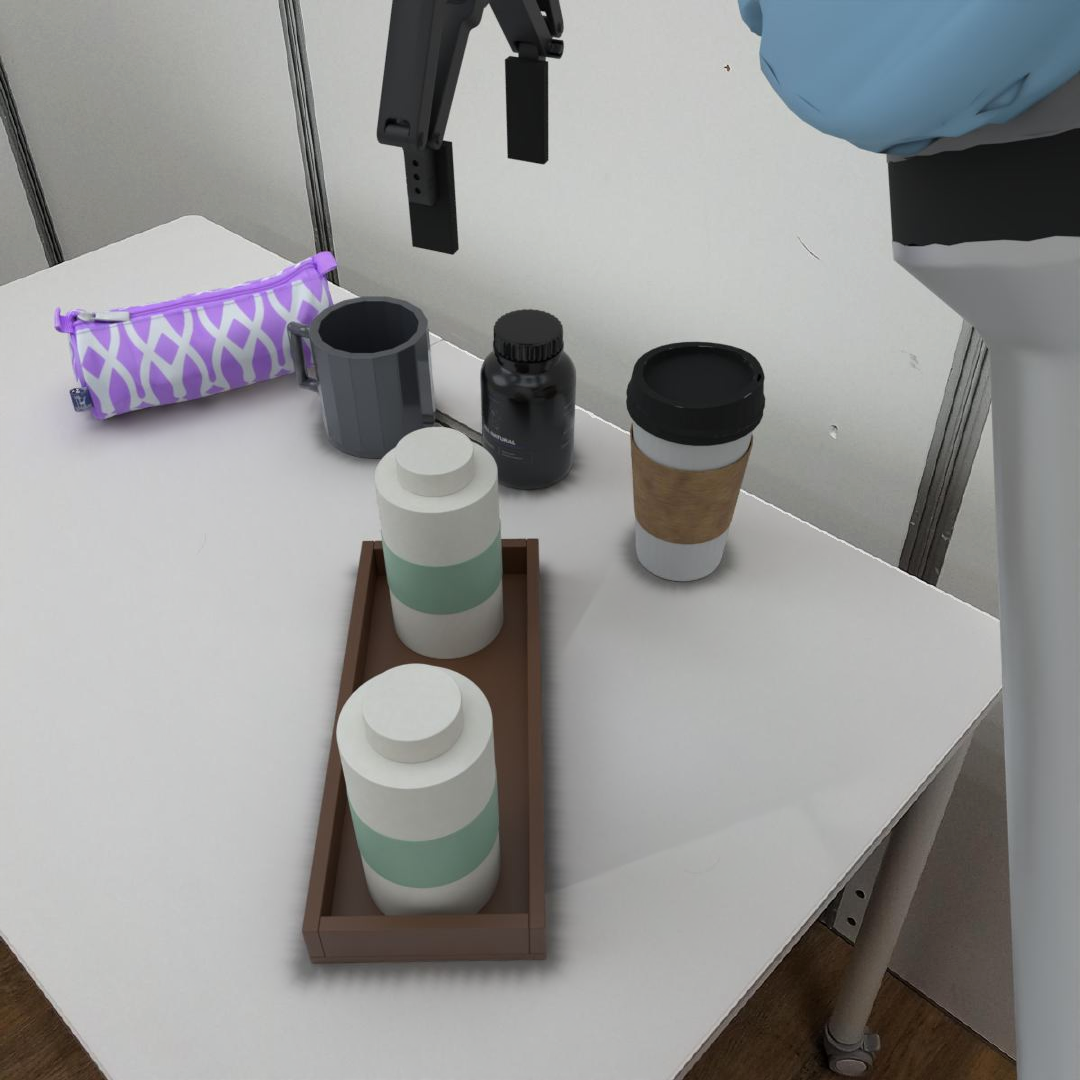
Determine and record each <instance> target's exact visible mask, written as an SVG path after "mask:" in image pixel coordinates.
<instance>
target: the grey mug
mask: <svg viewBox="0 0 1080 1080" xmlns="http://www.w3.org/2000/svg"><path fill="white" fill-rule="evenodd" d="M429 327H430V326H429V320H428V318H427V316H426V315H425V313H424V311H423V310H422V308H420V307H418V306H417V305H415V304H413V303H411V302H410V301H408V300H405V299H401V298H396V297H391V296H385V295H382V296H381V295H380V296H376V295H375V296H372V295H371V296H369V295H368V296H367V295H365V296H364V295H363V296H357V297H353V298H349V299H343V300H341V301H339V302H337V303H335V304H334V303H333V305H332V306H330V307H328V308H326V309H324V310H323V311H322V312H321V313H319V314H318V315H317V316H316V317H315V318H314V319H313V320H312V323H311V325H307V324H303V323H298V322H294V321H293V322H290V323H288V325H287V333H288V338H289V344H290V349H291V354H292V360H293V365H294V371H295V372H294V377H295V381H296V385H297V387H298V388H299V389H302V390H306V391H310V392H314V393H318V397H319V402H320V408H321V414H322V421H323V425H324V428H325V432H326V436H327V438H328V440H329V442H330V443H331V444H332V445H333V446H334V447H335V448H336V449H338V450H339V451H341V452H343V453H345V454H347V455H350V456H353V457H358V458H364V459H382V458H383V457H384V456H385V455H386V454H387V453H388V452H389V451H391V450H392V449H394V448H395V447H396V446H397V444H398V443H399V441H400V440H401V439H402V438H403V437H405V436H406V435H408V434H409V433H411V432H413V431H416V430H419V429H423V428H428V427H436V423H437V421H436V420H437V419H436V415H437V410H436V399H435V398H436V397H435V388H434V387H435V386H434V375H433V362H432V351H431V339H430V329H429ZM302 337H304V338H308V339H310V344H311V350H312V356H313V362H314V373H315V378H313V377H310V376H309V371H308V370H309V369H308V368H307V364H306V359H305V353H304V347H303V341H302Z"/></svg>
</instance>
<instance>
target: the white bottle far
mask: <svg viewBox="0 0 1080 1080" xmlns="http://www.w3.org/2000/svg"><path fill="white" fill-rule="evenodd" d="M373 478H374V479H373V480H374V486H375V495H376V503H377V509H378V517H379V522H380V536H381V541H382V544H383V552H384V559H385V566H386V573H387V581H388V585H389V589H390V596H391V604H392V611H393V618H394V625H395V630H396V633H397V635H398V637H399V638H400V640H401V641H402V642H403V643H404V644H405V645H406V646H407V647H408V648H410V649H411V650H412V651H414V652H416V653H418V654H421V655H423V656H427V657H430V658H437V659H454V658H460V657H464V656H468V655H471V654H474V653H476V652H478V651H480V650H481V649H483V648H485V647H486V646H487V645H489V644H490V643H491V642H492V641H493V640H494V639H495V638H496V636H497V635H498V634H499V632H500V630H501V627H502V624H503V619H504V615H503V590H502V573H503V571H502V547H501V539H502V527H501V526H502V525H501V518H500V500H499V499H500V497H499V496H500V495H499V481H498V470H497V465H496V462H495V460H494V458H493V457H492V455H491V454H490V453H489V452H488V451H487V450H486V449H485V448H483V445H480V444H478V443H477V442H474V441H472V440H471V438H469V437H468V436H467V435H466V434H465V433H464V432H461V431H459V430H457V429H454V428H451V427H445V426H435V427H428V428H423V429H419V430H416V431H413V432H411V433H409V434H408V435H406V436H405V437H403V438H402V439H401V440H400V441H399V443H398V444H397V446H396V447H395V448H394V449H392V450H391V451H389V452H388V453H387V454H386V455H385V456H384V457H383V458H380V460H379V462H378V463H377V465H376V468H375V471H374V477H373Z"/></svg>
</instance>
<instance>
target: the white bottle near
mask: <svg viewBox="0 0 1080 1080" xmlns="http://www.w3.org/2000/svg"><path fill="white" fill-rule="evenodd" d="M336 734H337V743H338V748H339V753H340V757H341V762H342V767H343V772H344V777H345V781H346V787H347V796H348V801H349V806H350V811H351V815H352V820H353V825H354V830H355V834H356V839H357V843H358V847H359V850H360V853H361V858H362V863H363V867H364V872H365V877H366V882H367V886H368V890H369V893H370V895H371V898H372V900H373V901H374V903H375V905H376V906H377V907H378V908H379V909H380V911H381V912H382V913H384V914H385V915H448V914H476V913H477V912H479V911H480V910H481V909H482V908H483V907H484V906H485V905H486V903H487V902H488V901H489V899H490V898H491V896H492V895H493V893H494V891H495V889H496V887H497V884H498V881H499V877H500V870H501V863H500V844H499V808H498V790H497V772H496V765H495V755H494V737H493V719H492V712H491V708H490V705H489V703H488V700H487V699H486V697H485V695H484V694H483V692H482V691H481V690H480V689H479V688H478V687H477V686H476V685H475V684H474V683H473V682H472V681H471V680H469V679H468V678H466V677H465V676H463V675H461V674H459V673H457V672H454V671H452V670H449V669H446V668H442V667H437V666H431V665H426V664H406V665H401V666H397V667H394V668H391V669H389V670H387V671H385V672H384V673H382V674H380V675H377V676H375V677H374V678H372V679H370V680H369V681H367V682H366V683H364V684H363V685H362V686H360V687H359V688H358V689H357V690H356V691H355V692H354V693H353V694H352V695H351V697H350V698H349V699H348V700H347V702H346V703H345V705H344V707H343V709H342V711H341V713H340V715H339V719H338V723H337V731H336Z"/></svg>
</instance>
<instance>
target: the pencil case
mask: <svg viewBox="0 0 1080 1080" xmlns="http://www.w3.org/2000/svg"><path fill="white" fill-rule="evenodd" d="M338 267H339V265H338V262H337V260H336V259H335V257H334V255H333V254H332V252H331V251H328V250H327V251H326V250H325V251H321V252H317V253H316V254H314V255H311V256H308V257H307V258H305V259H304V260H301V261H299V262H297V263H294V264H291V265H289V266H287V267H285V268H283V269H281V270H280V271H277V272H276V273H274V274H272V275H269V276H264V277H261V278H258V279H254V280H248V281H244V282H240V283H237V284H234V285H232V286H229V287H222V288H216V289H209V290H201V291H198V292H193V293H192V292H191V293H189V294H185V295H182V296H179V297H176V298H174V299H171V300H167V301H155V302H150V303H145V304H141V305H135V306H125V307H119V308H113V309H109V310H108V309H107V310H104V311H97V312H94V311H89V310H85V309H81V308H71V309H70V310H69V311H67V312H66V313H65V315H61V307H59V306H58V307H56V308H55V310H54V317H53V319H54V321H53V322H54V329H55V331H56V332H58V333H60V334H61V333H62V334H67V340H68V347H69V352H70V360H71V361H70V362H71V366H72V370H73V374H74V377H75V381H76V383H77V386H78V387H74V388H72V389H70V390H69V395H70V399H71V403H72V406H73V409H74V411H75V412H76V413H82V412H87V411H90V413H91V414H92V416H93V417H94V418H95V420H101V421H103V420H106V419H109V418H112V417H114V416H117V415H122V414H126V413H129V412H134V411H138V410H143V409H146V408H150V407H156V406H164V405H170V404H176V403H181V402H188V401H193V400H197V399H198V400H199V399H200V398H206V397H208V396H209V397H210V396H212V395H216V394H220V393H224V392H228V391H231V390H235V389H238V388H242V387H246V386H249V385H253V384H256V383H261V382H264V381H268V380H269V381H270V380H272V379H275V378H279V377H281V376H284V375H289V374H290V375H291V374H292V373H295V371H294V365H293V360H292V354H291V349H290V344H289V338H288V333H287V325H288V323H290V322H293V321H294V322H298V323H303V324H307V325H311V323H312V320H313V319H314V318H315V317H316V316H317V315H318V314H319V313H321V312H322V311H323V310H324V309H326V308H328V307H330V306H332V305H334V302H333V297H332V295H331V291H330V286H329V282H328V277H327V273H328V272H331V271H334V270H335V269H337V268H338ZM302 341H303V347H304V353H305V359H306V364H307V369H309V368H313V367H314V362H313V356H312V350H311V344H310V339H308V338H304V337H302Z"/></svg>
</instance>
